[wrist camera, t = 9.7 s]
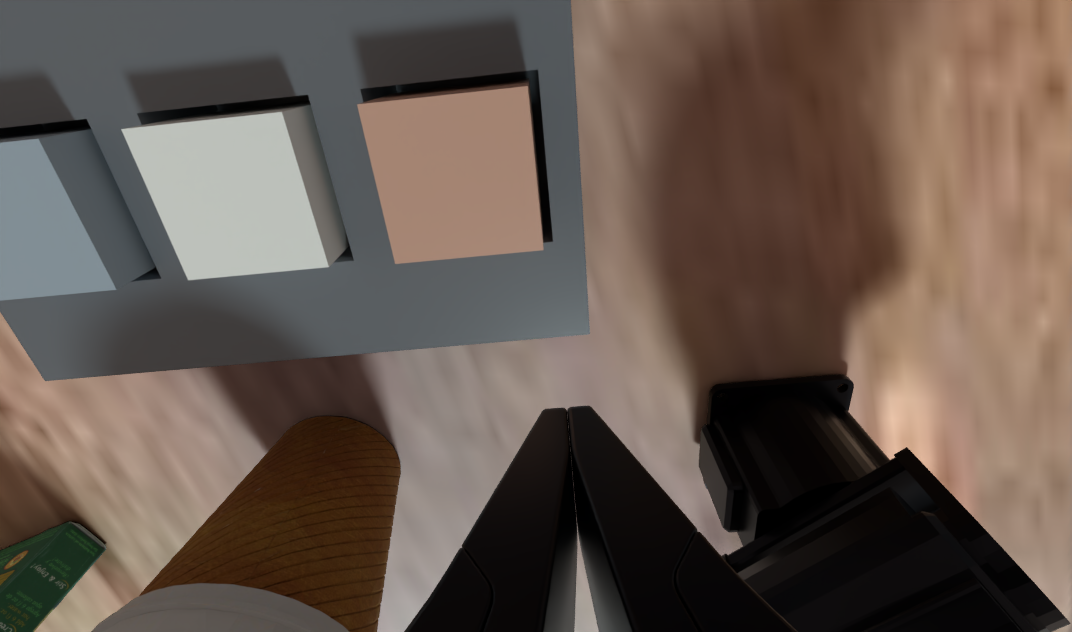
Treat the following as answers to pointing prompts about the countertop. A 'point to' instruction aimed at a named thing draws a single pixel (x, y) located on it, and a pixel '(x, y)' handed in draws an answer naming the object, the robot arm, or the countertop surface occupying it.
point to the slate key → (63, 218)
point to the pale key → (242, 190)
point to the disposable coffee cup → (285, 543)
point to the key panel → (333, 91)
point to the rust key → (456, 170)
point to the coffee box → (43, 574)
